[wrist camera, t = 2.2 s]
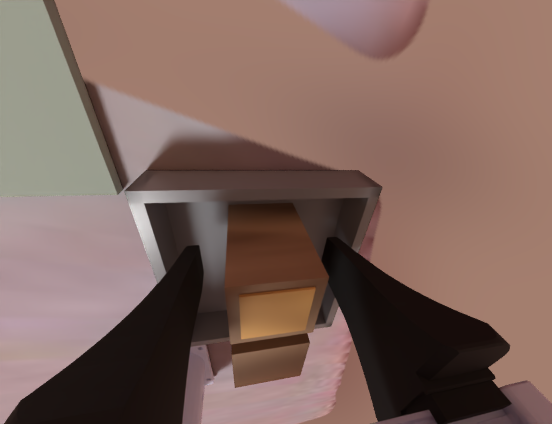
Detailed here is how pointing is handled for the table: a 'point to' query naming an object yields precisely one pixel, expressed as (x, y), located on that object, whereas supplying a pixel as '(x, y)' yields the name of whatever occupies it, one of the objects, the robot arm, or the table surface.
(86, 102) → the mat
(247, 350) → the plain block
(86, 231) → the table surface
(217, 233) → the bin
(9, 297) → the table surface
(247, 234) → the label block
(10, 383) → the table surface
